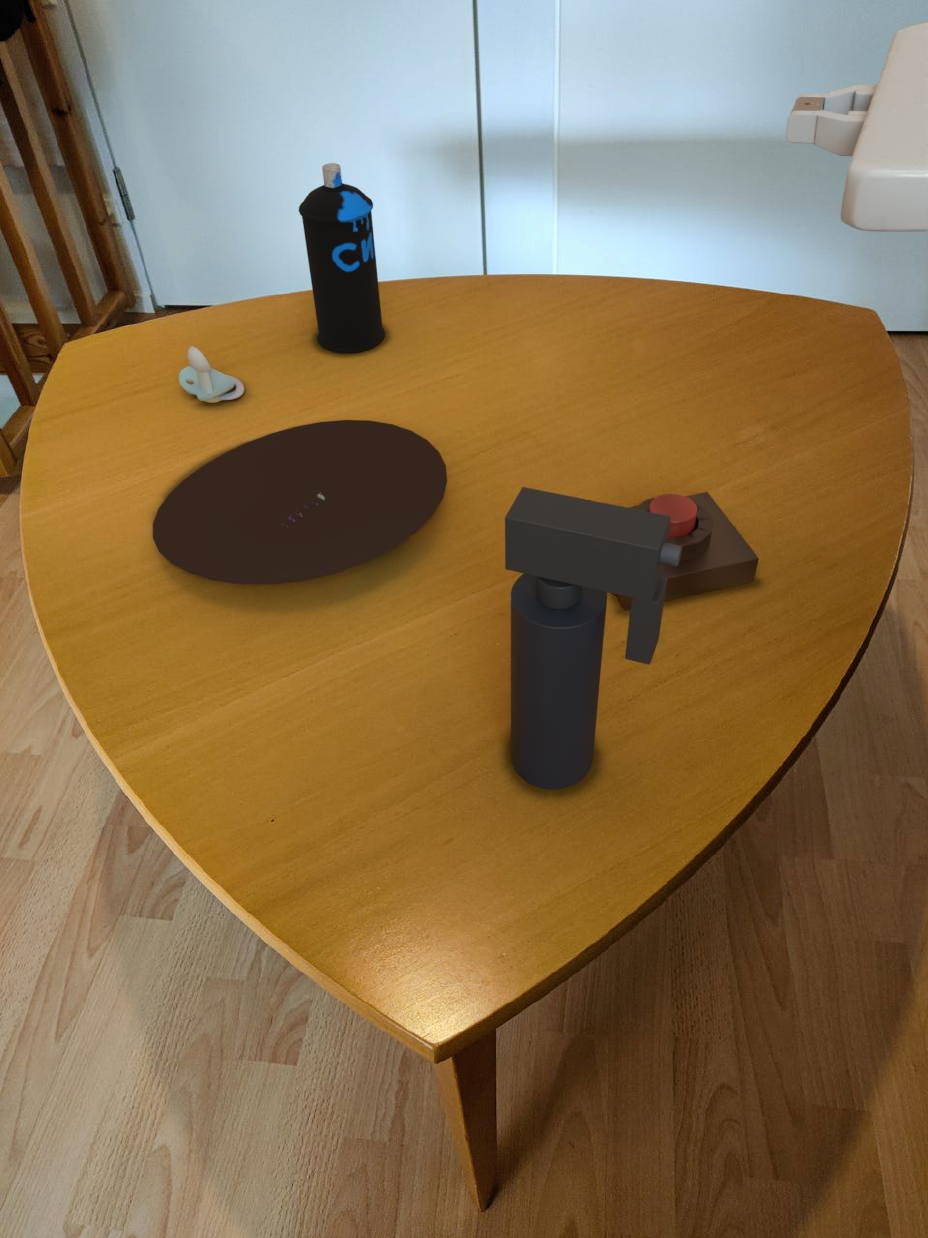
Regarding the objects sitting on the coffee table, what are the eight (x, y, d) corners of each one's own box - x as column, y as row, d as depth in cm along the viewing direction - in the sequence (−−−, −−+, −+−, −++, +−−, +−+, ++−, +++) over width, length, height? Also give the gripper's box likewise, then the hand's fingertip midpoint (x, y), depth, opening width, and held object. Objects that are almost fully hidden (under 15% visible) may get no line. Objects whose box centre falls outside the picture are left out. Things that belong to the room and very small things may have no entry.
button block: (703, 514, 93) (710, 475, 90) (754, 582, 86) (763, 541, 83) (582, 539, 91) (585, 499, 88) (624, 610, 84) (628, 570, 81)
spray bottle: (655, 751, 73) (693, 504, 58) (635, 815, 69) (670, 568, 54) (525, 716, 76) (529, 473, 60) (499, 776, 72) (496, 531, 56)
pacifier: (220, 373, 116) (175, 392, 113) (210, 322, 111) (164, 340, 108) (257, 396, 112) (211, 415, 109) (248, 344, 108) (201, 363, 104)
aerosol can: (303, 342, 120) (276, 171, 106) (347, 315, 125) (326, 147, 111) (356, 360, 117) (335, 185, 103) (399, 331, 121) (384, 160, 108)
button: (682, 506, 88) (685, 489, 86) (702, 533, 85) (705, 516, 84) (640, 514, 87) (642, 498, 86) (658, 542, 84) (661, 525, 83)
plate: (294, 404, 110) (289, 375, 107) (505, 487, 97) (505, 455, 95) (92, 538, 94) (80, 507, 91) (314, 657, 81) (308, 625, 79)
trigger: (658, 639, 63) (667, 577, 60) (649, 665, 62) (658, 603, 58) (634, 633, 64) (641, 572, 60) (624, 659, 62) (631, 597, 58)
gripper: (1007, 270, 54) (750, 250, 59) (1031, 104, 66) (814, 98, 71) (1041, 155, 50) (759, 144, 55) (1060, -3, 61) (826, 0, 66)
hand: (790, 117), depth 63 cm, fingers closed
